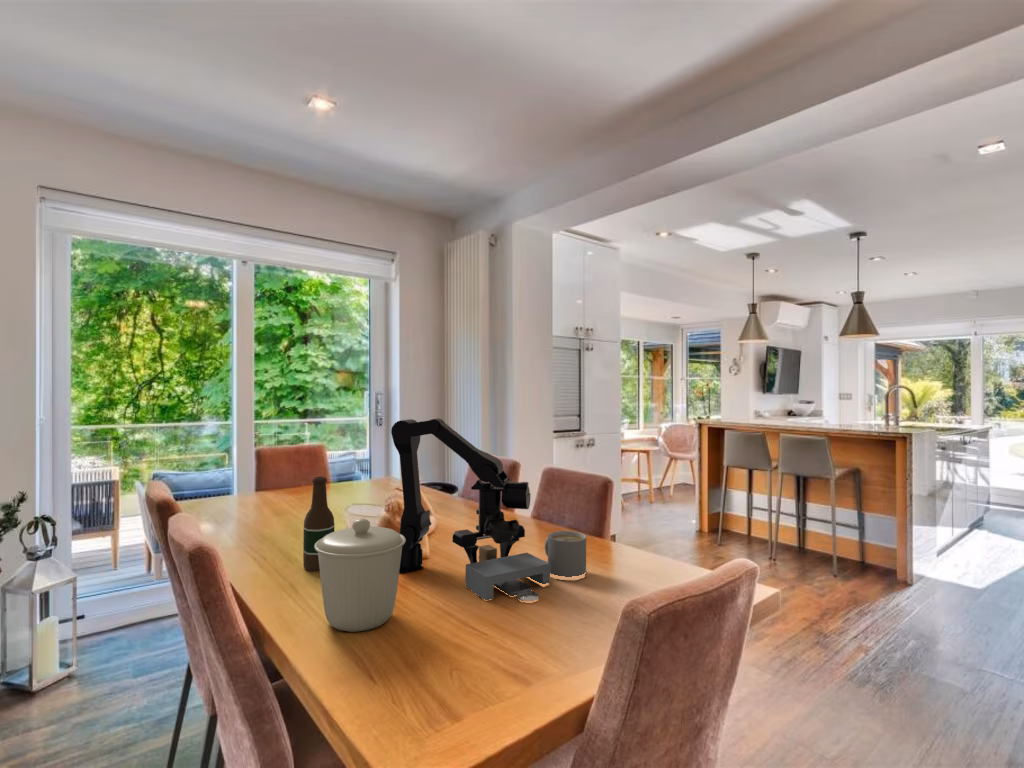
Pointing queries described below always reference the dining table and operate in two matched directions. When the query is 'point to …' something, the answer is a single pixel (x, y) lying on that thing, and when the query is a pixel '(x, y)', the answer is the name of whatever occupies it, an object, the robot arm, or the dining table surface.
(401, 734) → the dining table surface
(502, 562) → the low shelf
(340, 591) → the canister
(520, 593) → the steel disc
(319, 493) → the beer bottle
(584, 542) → the coffee mug
